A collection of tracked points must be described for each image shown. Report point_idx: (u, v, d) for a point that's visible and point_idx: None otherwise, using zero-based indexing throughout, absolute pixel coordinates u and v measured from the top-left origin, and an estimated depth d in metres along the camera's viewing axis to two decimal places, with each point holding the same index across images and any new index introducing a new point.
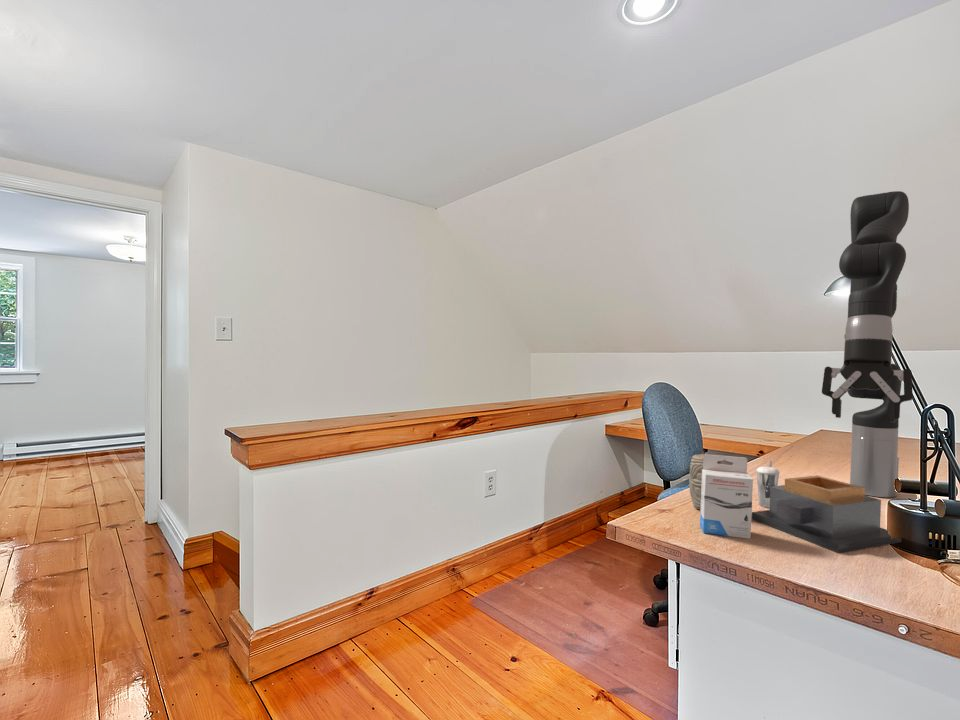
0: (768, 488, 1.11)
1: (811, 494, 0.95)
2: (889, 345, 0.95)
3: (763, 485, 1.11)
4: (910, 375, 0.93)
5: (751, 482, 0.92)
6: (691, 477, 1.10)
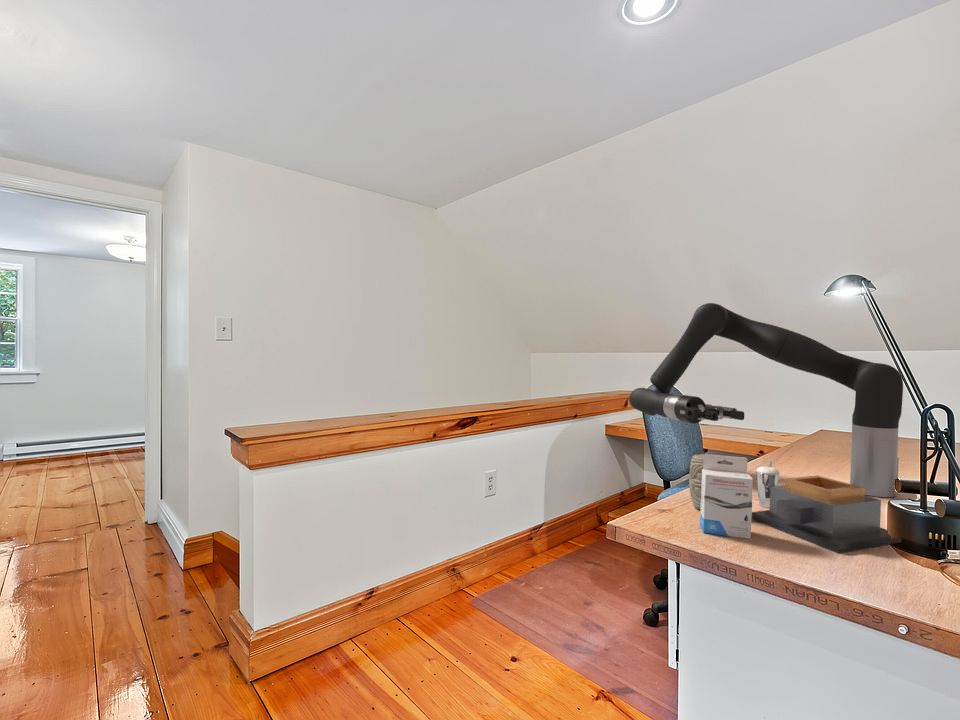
0: (768, 488, 1.11)
1: (811, 494, 0.95)
2: (677, 414, 1.36)
3: (763, 485, 1.11)
4: (682, 416, 1.29)
5: (751, 482, 0.92)
6: (691, 477, 1.10)
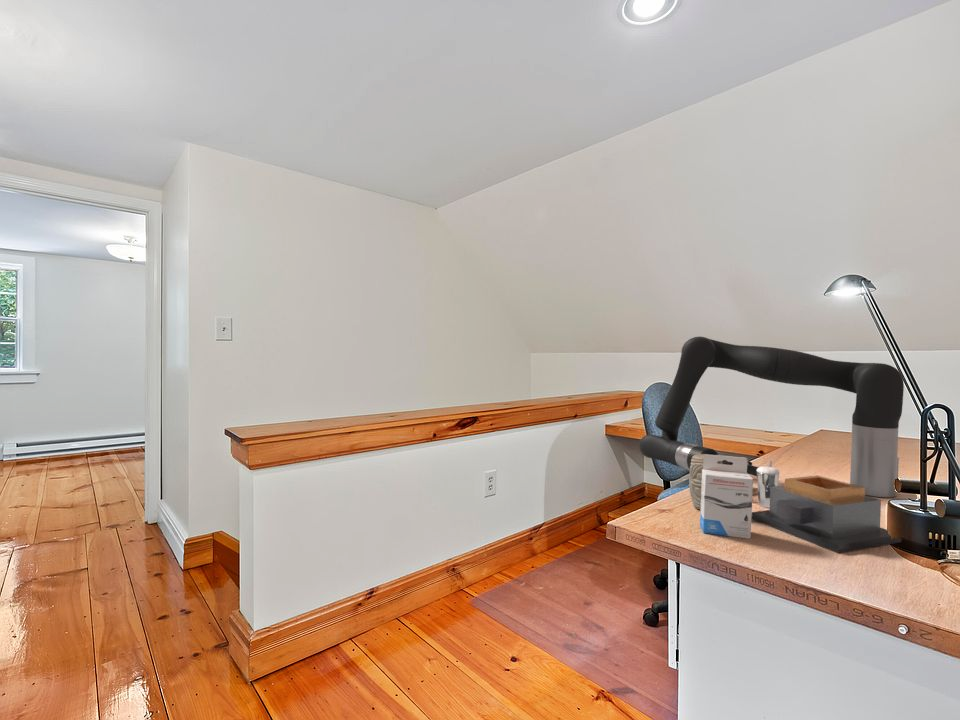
0: (768, 488, 1.11)
1: (811, 494, 0.95)
2: None
3: (763, 485, 1.11)
4: None
5: (751, 482, 0.92)
6: (691, 477, 1.10)
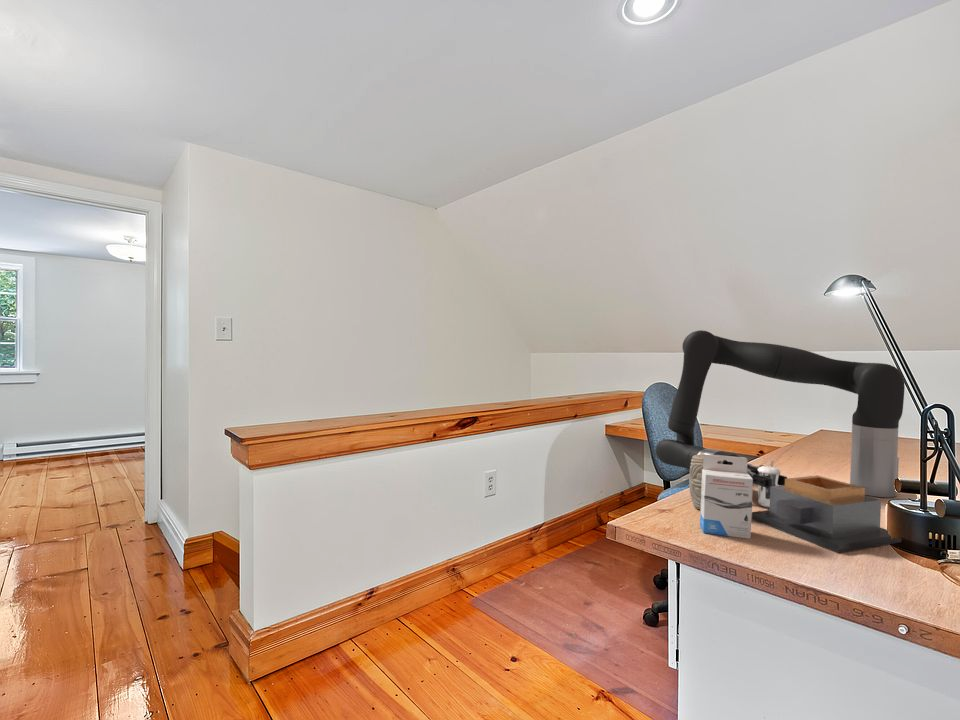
0: (769, 488, 1.11)
1: (811, 494, 0.95)
2: None
3: None
4: None
5: (751, 482, 0.92)
6: (691, 477, 1.10)
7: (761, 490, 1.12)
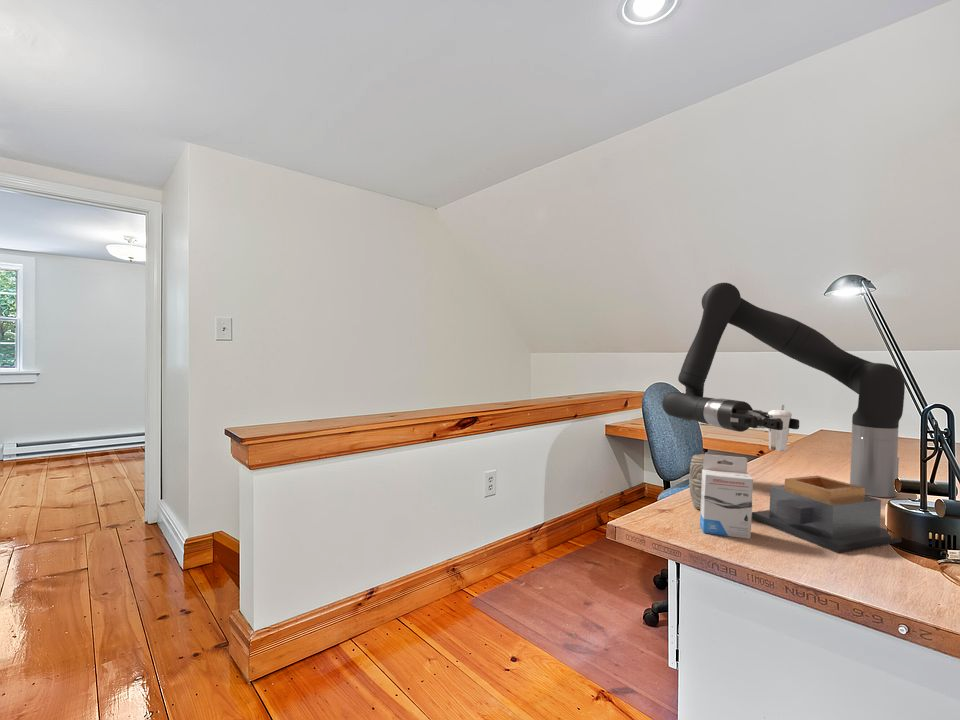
0: (779, 430, 1.08)
1: (811, 494, 0.95)
2: (720, 421, 1.21)
3: None
4: (735, 425, 1.13)
5: (751, 482, 0.92)
6: (691, 477, 1.10)
7: (772, 434, 1.09)
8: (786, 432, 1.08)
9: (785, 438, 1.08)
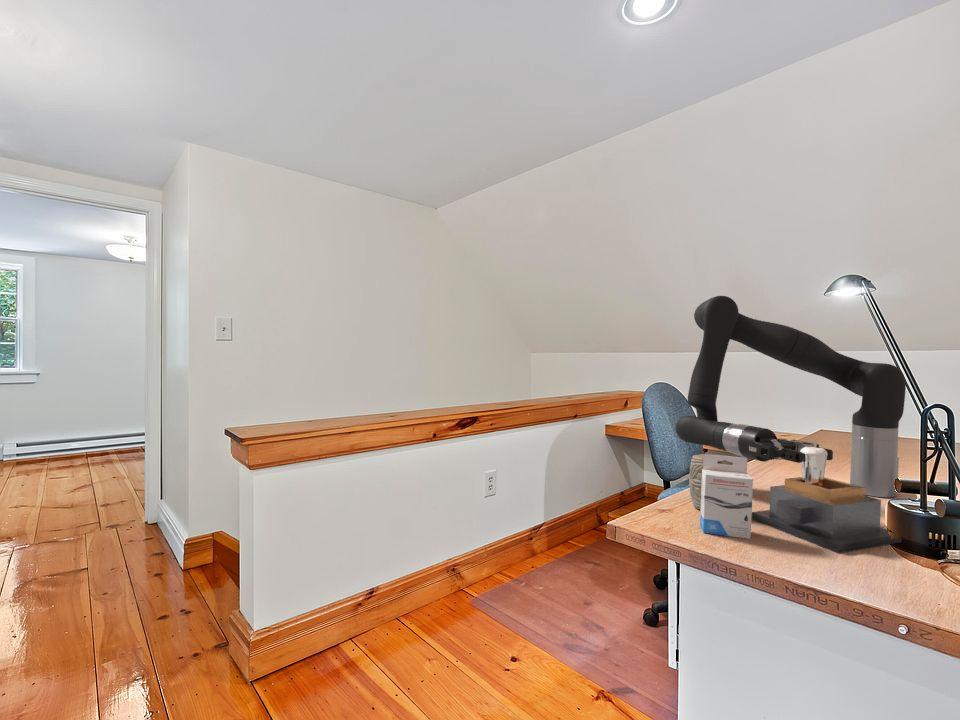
0: (815, 471, 0.96)
1: (811, 494, 0.95)
2: (742, 449, 1.12)
3: (810, 468, 0.96)
4: (753, 454, 1.05)
5: (751, 482, 0.92)
6: (691, 477, 1.10)
7: (806, 474, 0.97)
8: (822, 473, 0.96)
9: (821, 479, 0.96)
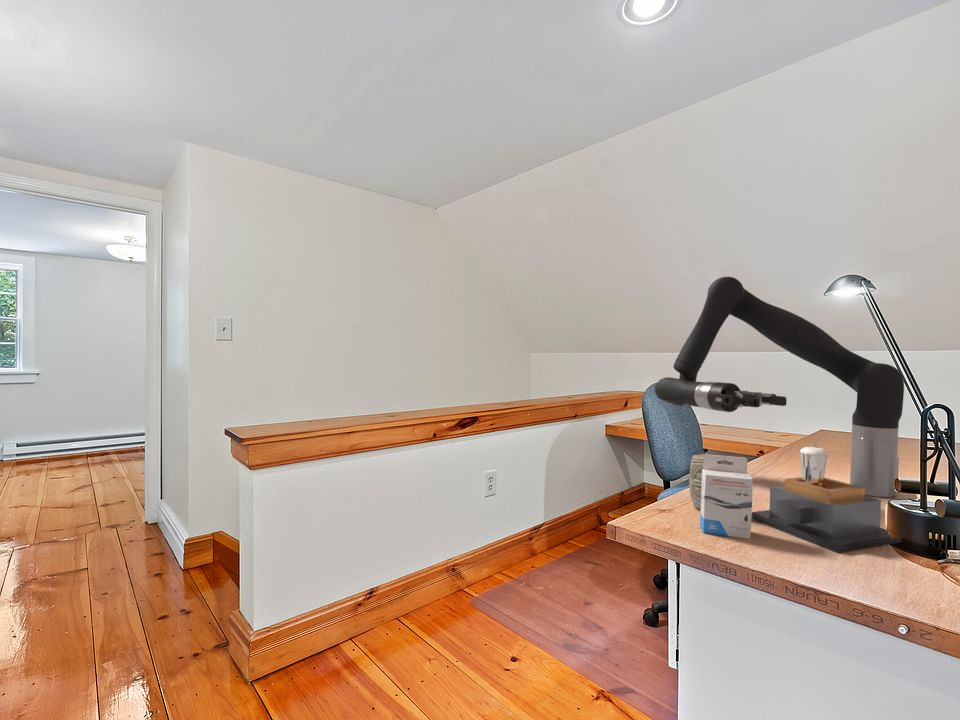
0: (815, 471, 0.96)
1: (811, 494, 0.95)
2: (711, 402, 1.27)
3: (810, 468, 0.96)
4: (719, 404, 1.21)
5: (751, 482, 0.92)
6: (691, 477, 1.10)
7: (806, 474, 0.97)
8: (822, 473, 0.96)
9: (821, 479, 0.96)
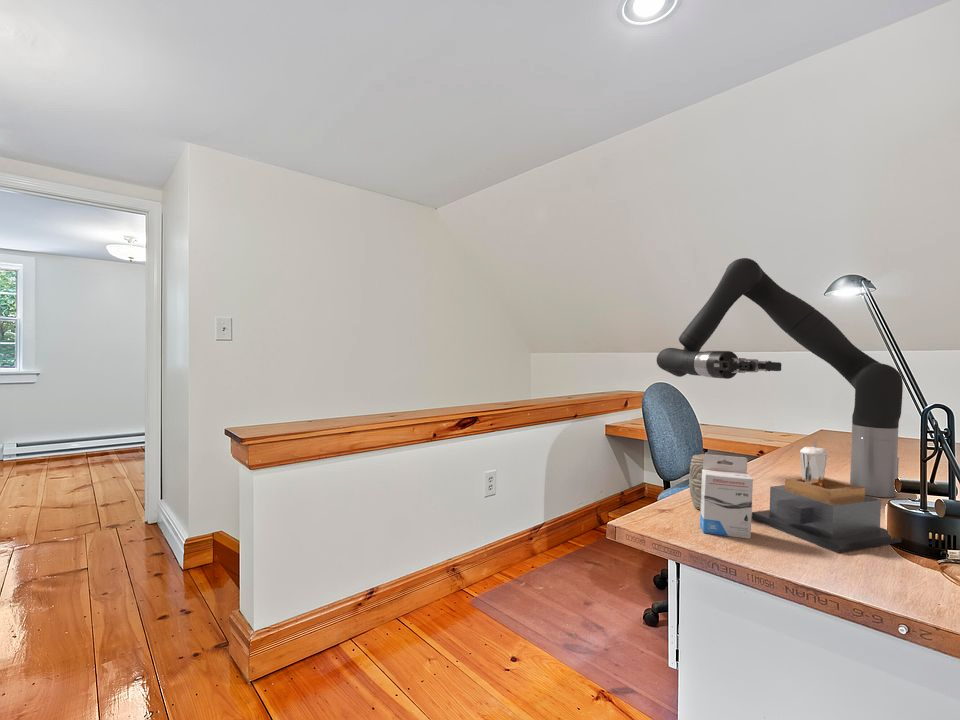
0: (815, 471, 0.96)
1: (811, 494, 0.95)
2: (709, 369, 1.33)
3: (810, 468, 0.96)
4: (716, 369, 1.26)
5: (751, 482, 0.92)
6: (691, 477, 1.10)
7: (806, 474, 0.97)
8: (822, 473, 0.96)
9: (821, 479, 0.96)
